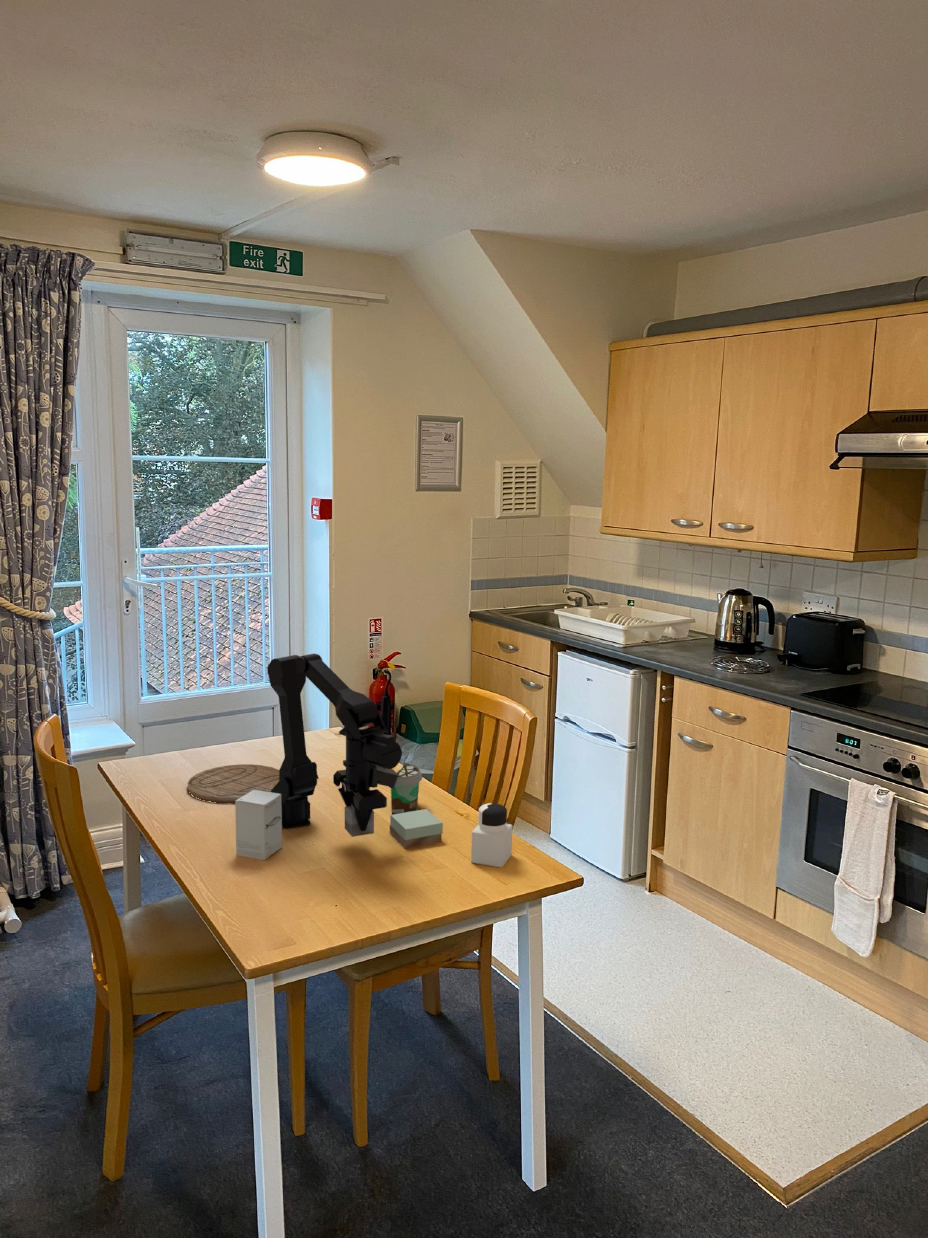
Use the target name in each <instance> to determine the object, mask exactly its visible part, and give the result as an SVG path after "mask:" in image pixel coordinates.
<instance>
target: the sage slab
mask: <svg viewBox="0 0 928 1238" xmlns="http://www.w3.org/2000/svg"><path fill="white" fill-rule="evenodd" d="M389 817H390V818H389V819H390V820H389V821H390V822H389V823H390V824H389V826H390V825H391V826H392V827H393V828H394V829H395V830H396V831H397V832H398V833H399V834H400V835H401V836H402V837H403V838H404V839H405V840H409V839H414V838H420V837H425V836H431V835H436V834H441V835H442V834H443V832H444V831H443V830H444V828H443V826H444V824H443V822H442V820H440V819H439V818H438V817H437V816H435V815H434V814H433V813H432V812H431V811H430V810H428V809H427V808H424V809H417V810H416V811H411V812H405V813H399V814H393V815H392V814H390V816H389Z"/></svg>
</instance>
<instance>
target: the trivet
mask: <svg viewBox="0 0 928 1238" xmlns="http://www.w3.org/2000/svg"><path fill="white" fill-rule="evenodd" d="M279 770H280V769H278V768H275V767H273V766H266V765H262V764H248V763H247V764H229V765H223V766H217V767H214V768H213V767H212V768H210V769H209V768H208V769H206V770H203V771H201V772H198V773H196V774H195V775H193V776H191V777H190V778H189V780H188V782H187V792H188V791H189V792H190V794H192V795H193V796H194V797H197V798H199V799H201V800H205V801H211V802H216V803H215V804H219V803H235V801H236V800H237V799H239V798H241V797H242V796H244V795H246V794H247V793H249V792H251V791H252V790H258V791H265V792H271V790H272V789H273V788H274V786H275V785H276V784H277V783H278V782H279ZM190 794H189V795H190ZM201 800H200V801H201ZM205 801H204V802H205Z"/></svg>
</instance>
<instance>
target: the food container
mask: <svg viewBox="0 0 928 1238" xmlns="http://www.w3.org/2000/svg"><path fill="white" fill-rule="evenodd" d="M396 773H398V774H399V776H398V779H397V781H396V784H395V787H394V788H390V799H391V801H390V803H391V806H390V807H391V815H393V814H399V813H405V812H411V811H417V810H418V804H419V803H418V802H419V789H420V782H421V781H422V779H423V774H422V770H421V768H420V767H419V765H416V764H413V763H410V762H402V767H401V768H400V769H399V770H398V771H397V772H396Z"/></svg>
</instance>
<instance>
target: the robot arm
mask: <svg viewBox="0 0 928 1238" xmlns="http://www.w3.org/2000/svg"><path fill="white" fill-rule="evenodd" d="M267 675H268V679H269V684H270V687H271V688H272V689H273V691H274V692H275V693H276V695H277V696H278V704H279V705H278V706H279V713H280V715H279V716H280V723H281V733H282V743H283V754H284V758H283V761H282V763H281V765H280V766H279V767H280V768H279V769H278V770H279V782H278V783H277V784H276V785H275V786H274V788H273V789H272V790H271V792H272V793H278V794H281V813H282V829H291V828H296V827H297V828H298V827H303V826H309V825H311V821H310V819H311V802H310V801H309V799H308V798H309V796H313V795H314V793H315V790H316V786H318V785H317V784H318V780H319V775H318V764H317V763H316V762H315V761H312V760H311V758H309V756H308V755H307V745H306V737H305V736H306V735H305V727H304V726H305V725H304V717H303V707H302V696H301V694H302V691H303V689H304V686H305V684H306V681H307V679H308V680H309V681H310V682H311V683H312V684H313V685H314V686H315V687H316V688H317V690H319V692H320V693H322V694H323V696H324V697H326V698H327V700H328V701H329V702H330V703H331V704H332V706H334V708H335V716H336V718H337V719H338V720H339V722H340V723H341V724H342V725H343V728H341V729H340V730H338V734H339V735H341V736H344V737H345V759H343V760H342V765H343V767H345V769H340V770H339V769H338V770H336V771H335V773H333V775H332V776H333V777H332V778H333V784H334V786H335V787H337V788H338V787H339V788H338V789H337V791H338V793H339V794H340V796H341V799H342V800H343V802H344V805H345V807H346V806H352V809H353V811H354V814H355V817H356V820H357V822H358V825H359V828H360V830H361V831H365V830H366V828H367V825H368V822H369V819H370V816H371V813H372V811H374V810H377V809H384V808H386V807H387V806H388V801H387V800H388V798H387V797H386V795H385V794H384V793H382V791H380V790H379V789H377V788H378V785H380V786H385V787H388V788H390V789H391V788H394V787H395V784H396V781H397V779H398V776H399V774H398V773H397V772H396V770H394V768H396V767H397V766H398V764H399V763H400V762H401V760H402V756H403V749H402V748H401V746H400V744H399V743H398V742H397V741H396V738H395V735H392V734H389V735H388V734H386V733H387V732H388V728H387V726H386V725H385V724H386V723H385V721H384V719H383V718H382V716H381V714H380V712H379V709H378V706H377V704H376V703H375V701H373V700H372V699H371V698H369V697H368V696H367V695H365V694H364V693H360V692H357V691H355V690H353V689H351V688H350V687H349V686H348V685H347V684H346V683H345V682H344V681H343V680H342V679H341V678H340V677H339V676H338V675H337V674H336V673H335V672H334V671H333V670H332V669H331V668H330V667H329V666H328V664H326V663H325V662H324V661H323V658H322V656H320V655H319V654H317V653H309V654H304V655H301V656H299V655H298V654H293V655H287V656H282V657H277V658H273V659H271V660H270V662H269V663H268V665H267ZM371 725H373V726H371ZM367 726H369V727H367ZM362 728H363V729H362ZM384 733H385V734H384ZM340 786H341V787H340ZM371 788H372V789H371ZM373 788H374V789H373ZM375 788H376V789H375Z"/></svg>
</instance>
